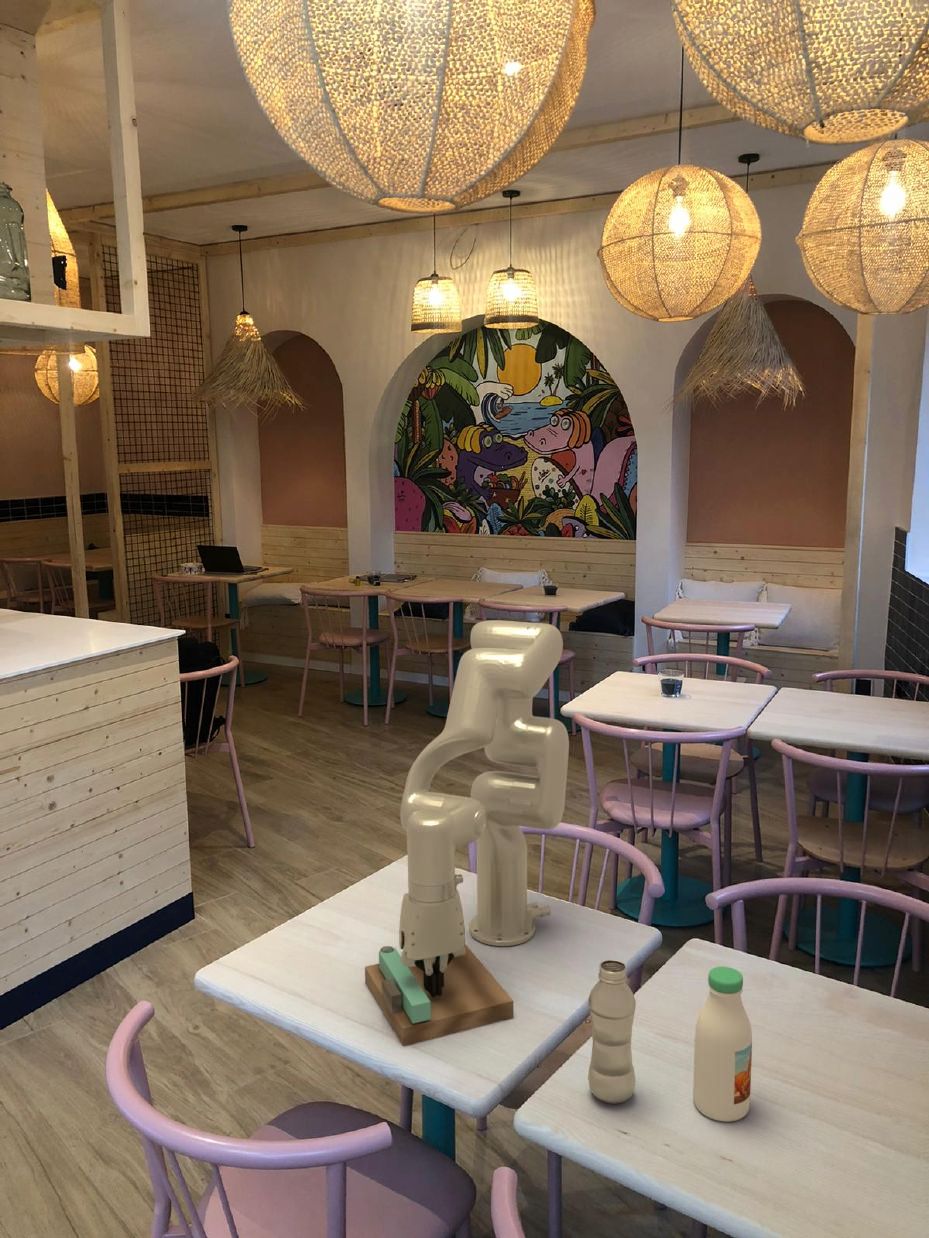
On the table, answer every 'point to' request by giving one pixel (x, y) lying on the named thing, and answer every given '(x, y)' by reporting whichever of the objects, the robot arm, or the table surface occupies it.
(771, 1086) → the table surface
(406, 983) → the folding leg
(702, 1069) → the milk bottle
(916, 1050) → the table surface
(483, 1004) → the stool seat
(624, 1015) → the plastic bottle
